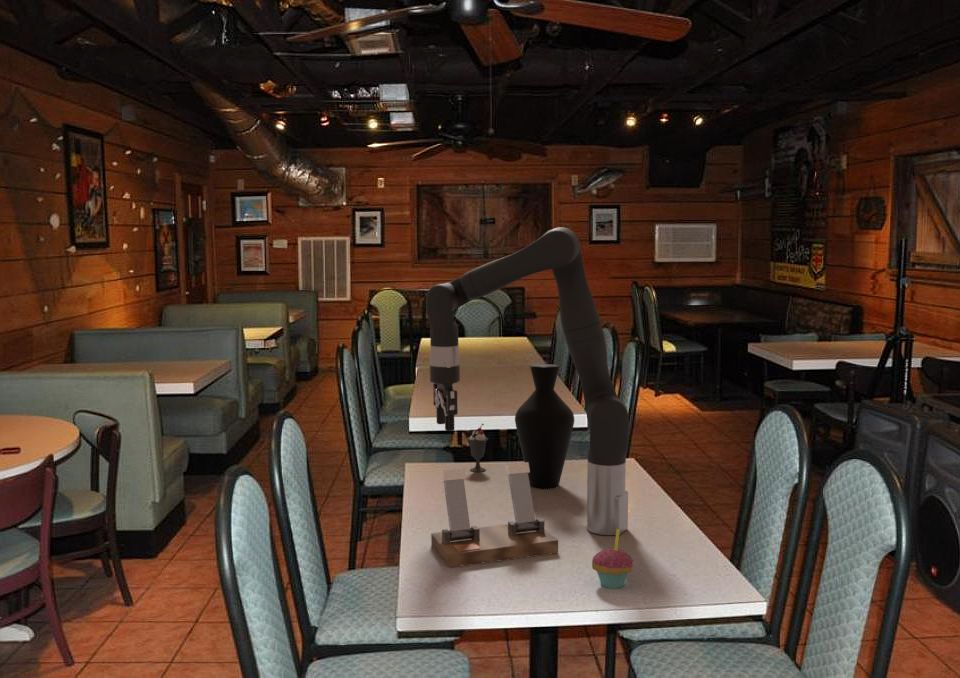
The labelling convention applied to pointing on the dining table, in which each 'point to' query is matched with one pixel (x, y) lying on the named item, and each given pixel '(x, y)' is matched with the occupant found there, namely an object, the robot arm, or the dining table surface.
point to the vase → (544, 429)
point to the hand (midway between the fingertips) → (445, 427)
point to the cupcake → (612, 565)
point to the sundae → (477, 447)
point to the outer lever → (456, 504)
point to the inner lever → (521, 496)
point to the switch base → (494, 544)
